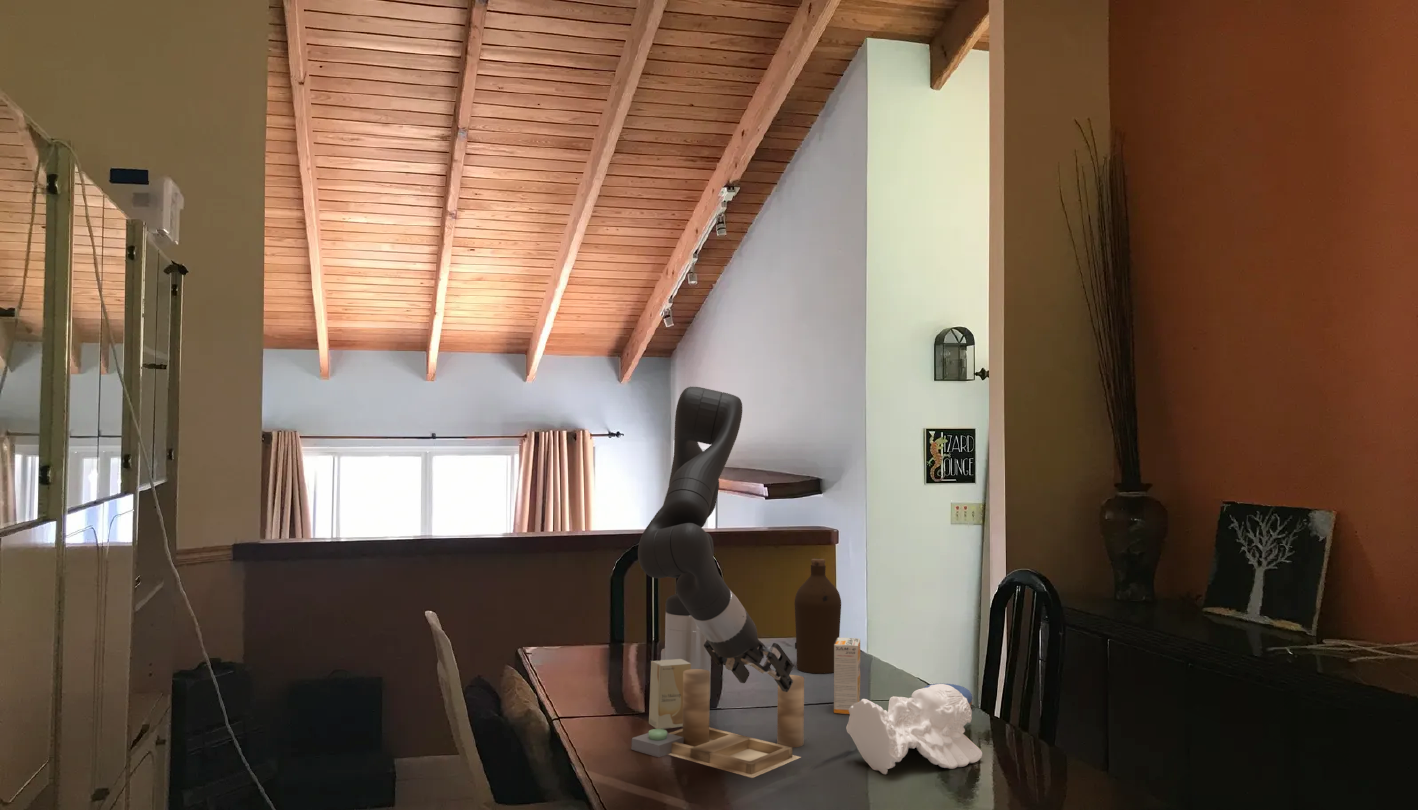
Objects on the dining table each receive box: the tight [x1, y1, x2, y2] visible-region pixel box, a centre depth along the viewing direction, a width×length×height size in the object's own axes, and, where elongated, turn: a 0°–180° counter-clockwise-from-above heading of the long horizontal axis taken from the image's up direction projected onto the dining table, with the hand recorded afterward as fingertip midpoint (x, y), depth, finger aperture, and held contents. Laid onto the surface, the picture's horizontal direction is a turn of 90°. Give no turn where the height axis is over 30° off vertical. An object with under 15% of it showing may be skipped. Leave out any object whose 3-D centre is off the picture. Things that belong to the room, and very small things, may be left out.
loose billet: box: [776, 674, 805, 748], centre depth 164 cm, size 4×4×12 cm
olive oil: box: [794, 558, 842, 675], centre depth 225 cm, size 11×11×25 cm
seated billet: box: [682, 669, 711, 747], centre depth 162 cm, size 4×4×12 cm
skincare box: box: [648, 659, 691, 730], centre depth 175 cm, size 6×4×12 cm
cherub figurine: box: [845, 683, 983, 775], centre depth 160 cm, size 13×12×20 cm
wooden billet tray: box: [666, 726, 802, 779], centre depth 159 cm, size 22×13×3 cm, turn 51°
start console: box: [631, 728, 684, 758], centre depth 160 cm, size 6×6×4 cm
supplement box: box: [833, 637, 861, 715], centre depth 191 cm, size 8×5×13 cm, turn 168°
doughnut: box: [923, 682, 974, 707], centre depth 193 cm, size 10×10×5 cm
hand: (766, 682), depth 159 cm, fingers open, 8 cm apart
